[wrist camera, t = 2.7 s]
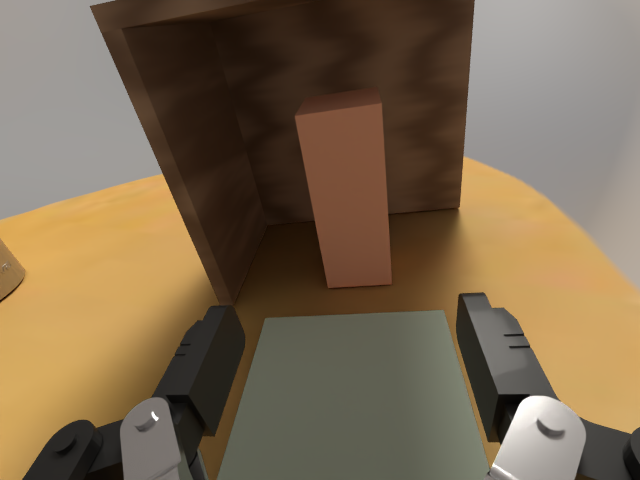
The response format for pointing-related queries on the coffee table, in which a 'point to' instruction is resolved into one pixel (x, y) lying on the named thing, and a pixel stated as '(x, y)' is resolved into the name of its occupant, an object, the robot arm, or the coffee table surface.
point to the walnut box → (287, 104)
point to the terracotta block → (348, 184)
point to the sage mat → (355, 402)
